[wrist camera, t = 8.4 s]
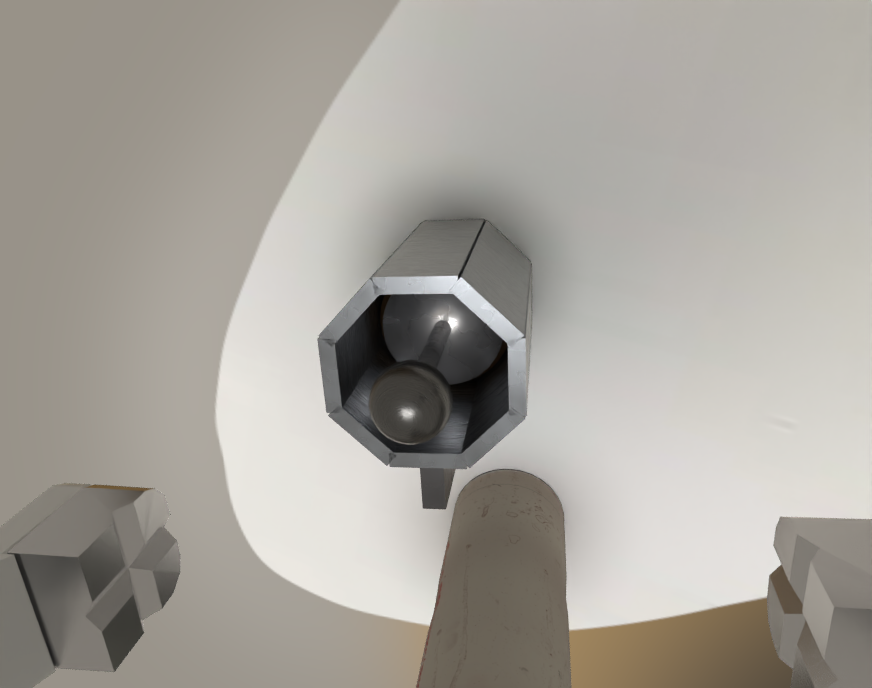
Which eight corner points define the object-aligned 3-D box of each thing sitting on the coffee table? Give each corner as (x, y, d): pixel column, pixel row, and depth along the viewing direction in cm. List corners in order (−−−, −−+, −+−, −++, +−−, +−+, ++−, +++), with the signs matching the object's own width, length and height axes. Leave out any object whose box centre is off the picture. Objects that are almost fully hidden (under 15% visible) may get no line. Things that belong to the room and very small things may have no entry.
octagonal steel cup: (531, 217, 42) (525, 274, 29) (532, 402, 46) (527, 524, 33) (379, 221, 44) (310, 278, 31) (395, 400, 48) (339, 516, 35)
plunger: (503, 264, 37) (484, 341, 26) (505, 379, 39) (489, 496, 28) (381, 266, 38) (311, 341, 27) (390, 378, 40) (330, 491, 29)
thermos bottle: (454, 556, 52) (363, 1024, 26) (455, 464, 49) (354, 886, 23) (560, 566, 51) (576, 1066, 25) (567, 473, 48) (594, 926, 22)
